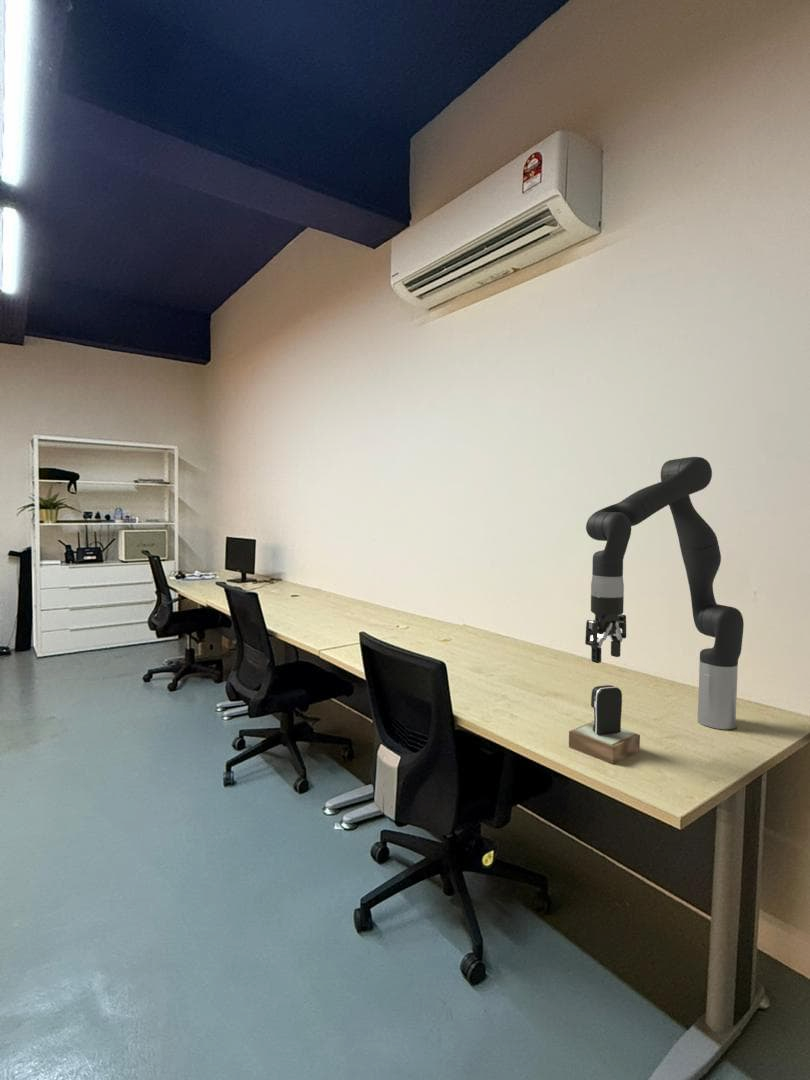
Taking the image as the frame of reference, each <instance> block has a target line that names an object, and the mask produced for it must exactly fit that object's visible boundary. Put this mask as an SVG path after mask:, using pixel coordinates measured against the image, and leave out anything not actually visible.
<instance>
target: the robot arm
mask: <svg viewBox="0 0 810 1080" xmlns="http://www.w3.org/2000/svg"><path fill="white" fill-rule="evenodd" d="M712 478H713V470H712V467H711V464H710V462H709V461H708V460H707V459H706V458H704V457H701V456H700V457H699V456H690V457H682V458H675V459H674V458H673V459H669V460H667V461H665V462H664V463H663V464H662V465H661V469H660V482H657V483H654V484H651V485H649V486H646V487H643V488H640V489H639V490H637V491H635V492H633V493H632V494H630V495H629V496H626V497H625V498H624V499H623V500H621V501H620V502H617V503H614V504H611V505H609V506H606V507H603V508H601V509H599V510H597V511H595V512H594V513H592V514H591V515H590V516H589V518H588V519H587V521H586V524H585V530H586V533H587V535H588V537H590V538H591V539H592V540H596V541H600V542H601V541H603V542H606V543H605V547H604V549H603V550H599V551H596V552H594V554H593V555H592V575H591V583H590V612H591V613H592V614H594V619H593V620H591V619H586V621H585V622H586V623H585V641H584V644H585V645H587V646H590V647H591V648H590V649H591V651H590V653H591V657H590V658H591V659H590V660H591V662H592V663H596V664H601V663H602V645H603V642H604V641H606V640H607V638H608V637H609V638H610V640H611V641H610V655H611V657H615V658H620V657H621V643H622V642H623V640H624V639H626V638H627V616H626V614H623V613H624V604H625V603H624V598H625V597H624V596H625V594H624V592H625V590H624V589H625V585H624V559H625V558H624V557H625V554H626V552H627V548H628V545H629V541H630V539H631V535H632V527H634V526H637V525H639V524H641V523H642V522H644V521H645V520H647V519H648V518H650V517H651V516H652V515H654V514H656V513H657V512H659V511H660V510H663V509H664V508H665V507H667V506H669V509H670V512H671V515H672V520H673V523H674V527H675V530H676V534H677V538H678V542H679V548H680V553H681V558H682V560H683V564H684V568H685V573H686V578H687V582H688V586H689V594H690V601H691V610H692V617H693V622H694V625H695V626H694V627H696V630H697V631H698V632H699V633H700V634H702V635H704V636H708V637H712V638H714V644H713V646H712V647H711V648H710V647H709V648H704V649H701V650H700V651H699V663H698V664H699V669H698V672H699V673H698V695H697V697H698V699H697V701H698V703H697V722H698V723H700V724H702V725H703V726H705V727H709V728H712V729H719V730H732V729H735V728H736V726H737V725H736V722H737V721H736V720H737V718H736V717H737V696H738V694H737V693H738V669H739V665H738V664H739V658H740V656H741V653H742V649H743V648H742V647H743V639H744V638H743V637H744V635H743V634H744V625H745V624H744V617H743V613H742V612H741V611H740V610H739V609H738V608H736V607H734V606H729V605H728V606H727V605H723V604H718V603H717V601H716V599H715V593H714V580H715V579H716V575H717V573H718V571H719V569H720V565H721V561H722V555H721V549H720V546H719V544H720V543H719V541H718V537H717V534H716V532H715V531H714V530H713V528H712V527H711V526H710V525H709V524H708V523H707V521H706V520H705V519H704V518H703V517H702V516H701V514H699V512H698V511H697V510H696V508H695V507H694V504H693V503H692V500H691V496H690V495H692V494H695V493H697V492H699V491H703V490H705V488H707V487H708V486H709V484H710V482H711V480H712Z"/></svg>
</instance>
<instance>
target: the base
mask: <svg viewBox="0 0 810 1080" xmlns="http://www.w3.org/2000/svg"><path fill="white" fill-rule="evenodd" d="M593 726H594V721H591V722H588V723H586V724H584V725H581V726H579V727H576V728H574V729H571V730H569V731H568V748H570V749H572V750H575V751H578V752H580V753H583V754H586V755H588V756H591V757H593V758H595V759H598V760H601V761H603V762H606V763H608V764H612V765H614V764H617V763H618V762H621V761H622V760H624V759H627V758H628V757H630V756H632V755H635V753H638V752H640V747H641V746H640V744H641V743H640V742H641V734H639V733H635V732H633V731H630V730H626V729H624V728H621V732H619V733H613V734H604V735H598V734H596V733H595V732H594V731H593Z"/></svg>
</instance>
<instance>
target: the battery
mask: <svg viewBox="0 0 810 1080" xmlns="http://www.w3.org/2000/svg"><path fill="white" fill-rule="evenodd" d="M590 707H591V708H593V714H594V715H593V717H594V718H593V719H594V726H593V731H594V732H595V733H596V734H598V735H604V734H613V733H619V732H621V729H622V728H621V725H622V710H623V709H622V708H623V693H622V690H621V689H620V688H619V687H617V686H614V685H609V684H606V685H598V686H594V687H593V688H592V690H591V697H590Z"/></svg>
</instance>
